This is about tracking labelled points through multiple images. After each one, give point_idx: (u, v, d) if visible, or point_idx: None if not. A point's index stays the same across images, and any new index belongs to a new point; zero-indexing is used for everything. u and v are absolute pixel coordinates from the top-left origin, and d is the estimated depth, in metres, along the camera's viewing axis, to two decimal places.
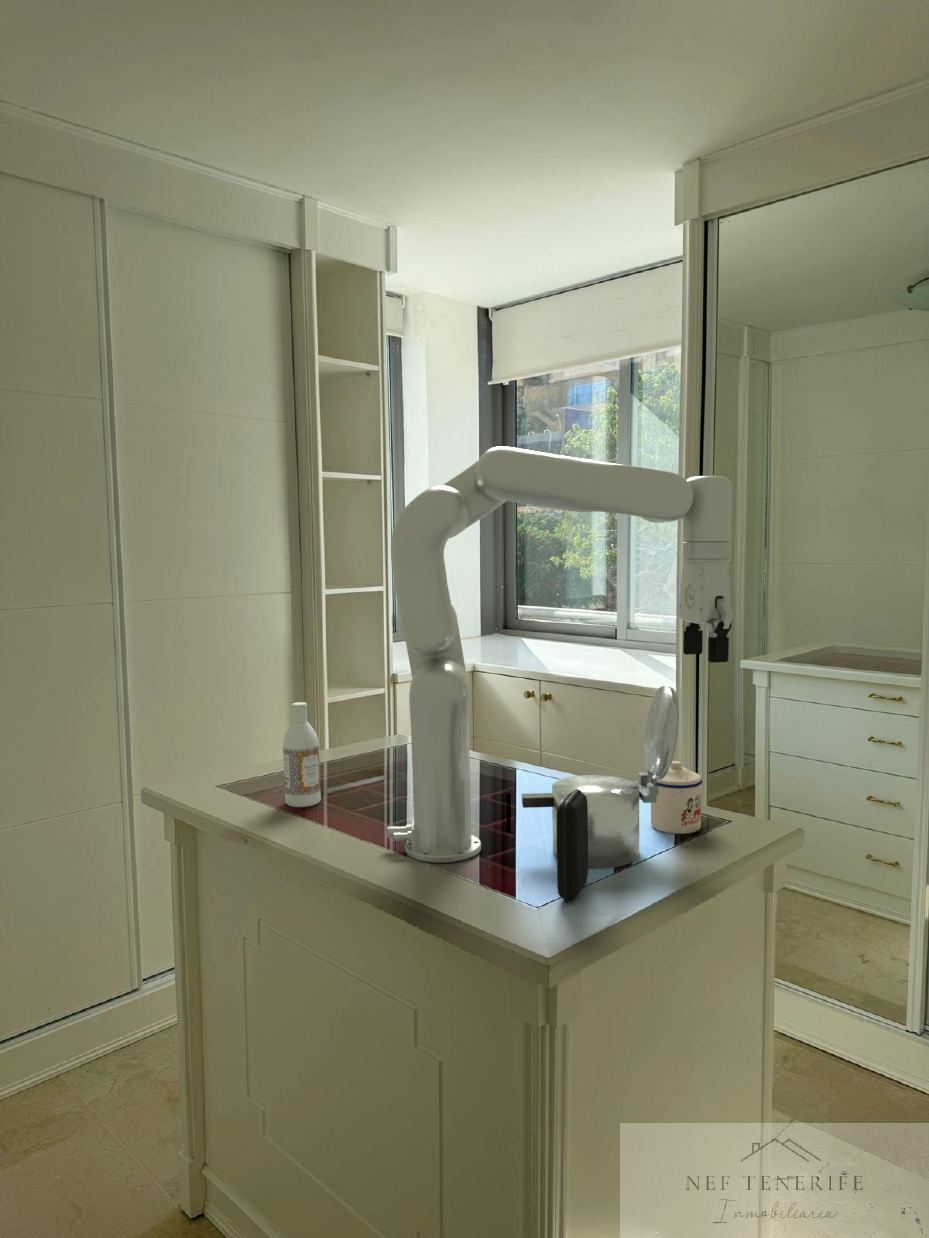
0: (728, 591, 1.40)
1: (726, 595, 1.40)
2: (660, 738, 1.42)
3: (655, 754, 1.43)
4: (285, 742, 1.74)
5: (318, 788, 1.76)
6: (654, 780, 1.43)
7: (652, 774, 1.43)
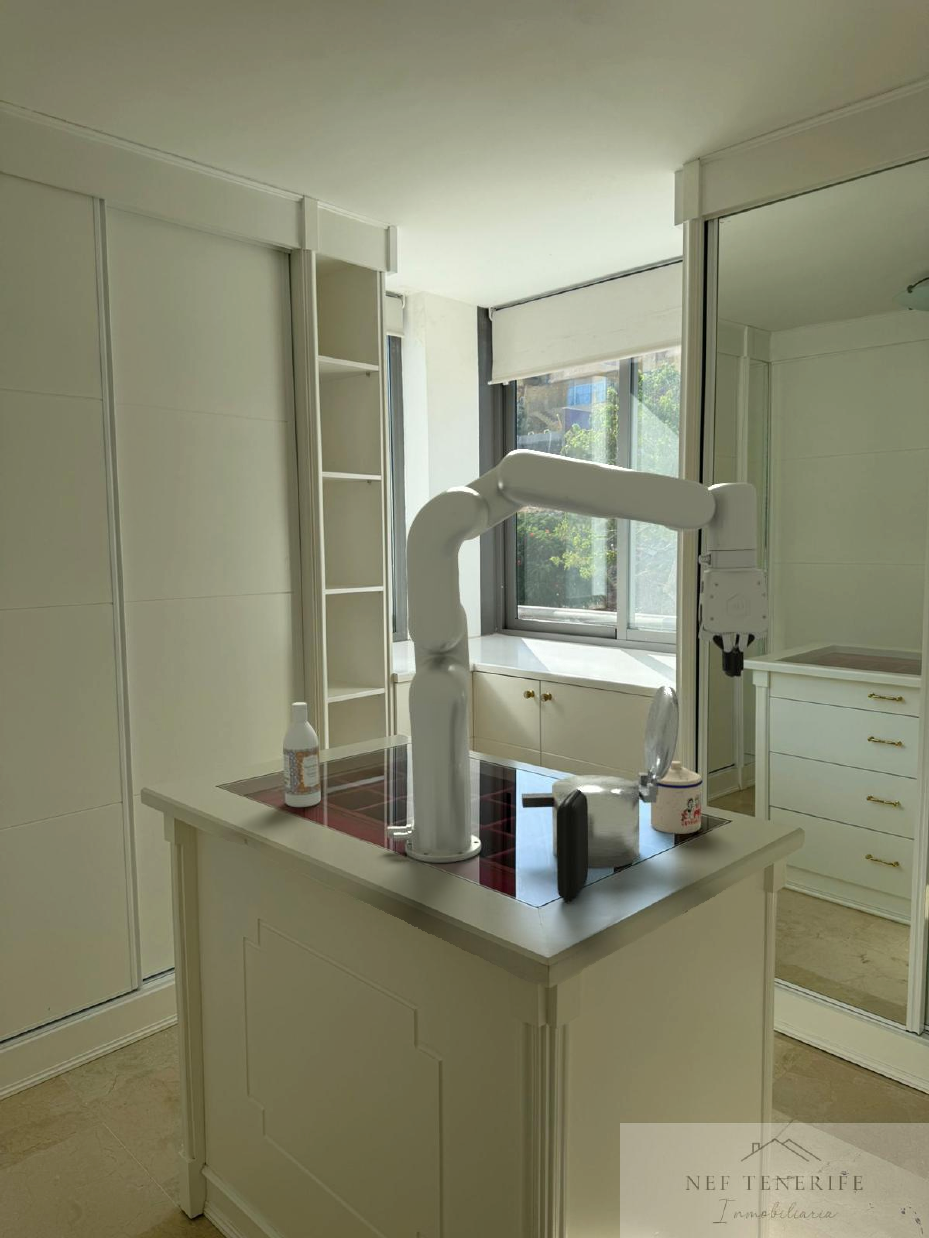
0: None
1: None
2: (660, 738, 1.42)
3: (655, 754, 1.43)
4: (285, 742, 1.74)
5: (318, 788, 1.76)
6: (654, 780, 1.43)
7: (652, 774, 1.43)
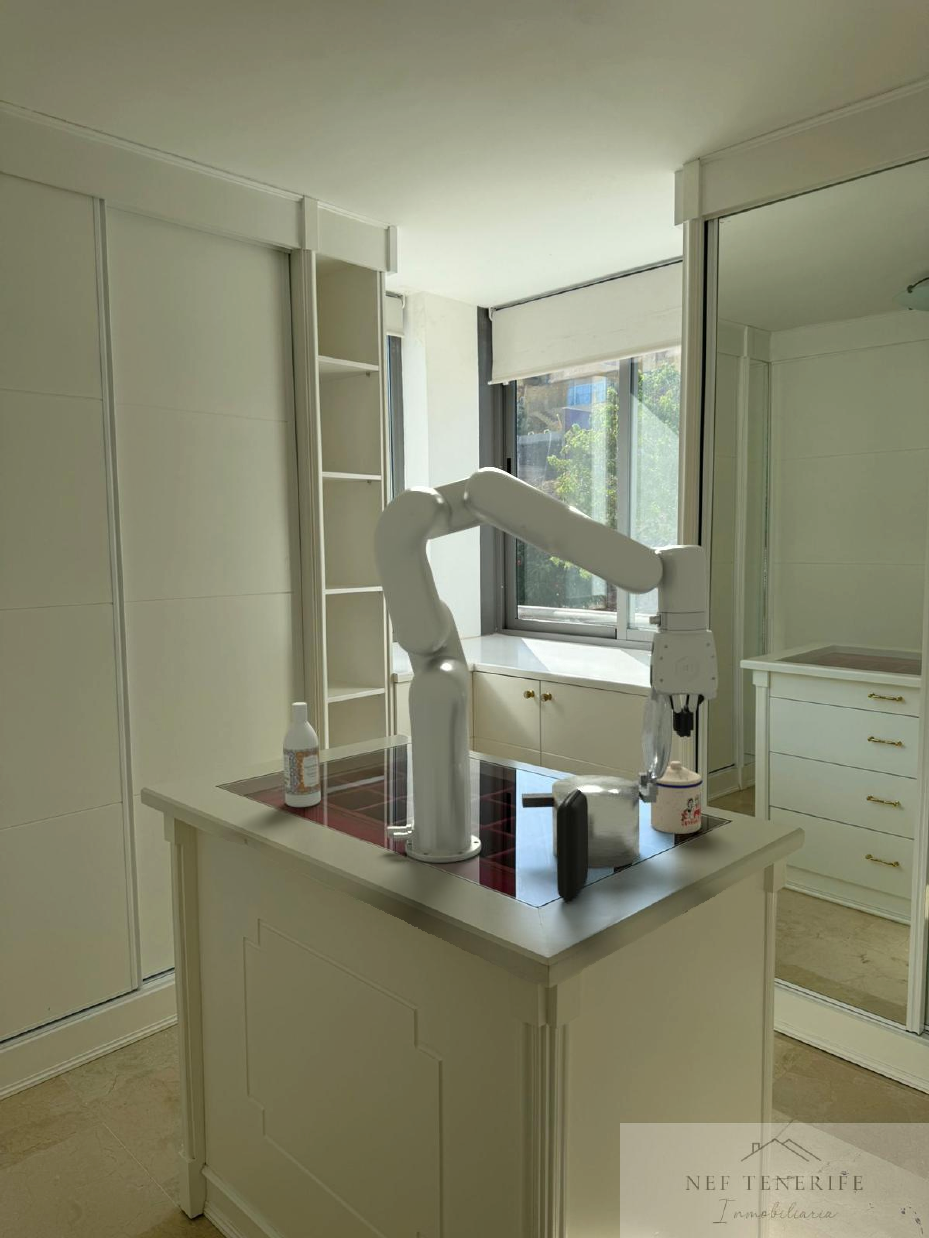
0: None
1: None
2: (656, 738, 1.41)
3: (652, 754, 1.43)
4: (285, 742, 1.74)
5: (318, 788, 1.76)
6: (654, 780, 1.43)
7: (651, 774, 1.43)
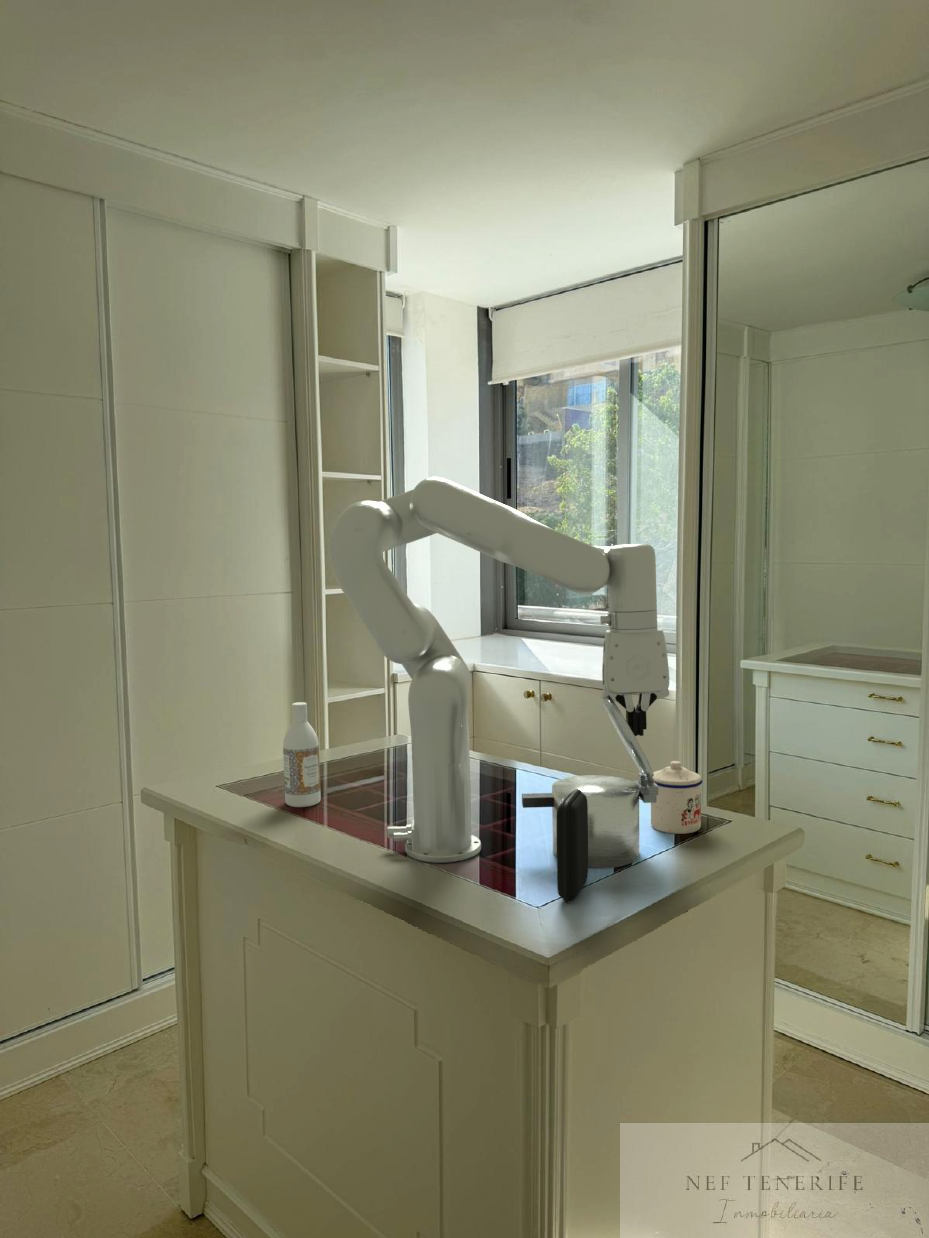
0: None
1: None
2: (628, 744, 1.42)
3: (635, 758, 1.43)
4: (285, 742, 1.74)
5: (318, 788, 1.76)
6: (650, 779, 1.43)
7: (644, 775, 1.43)
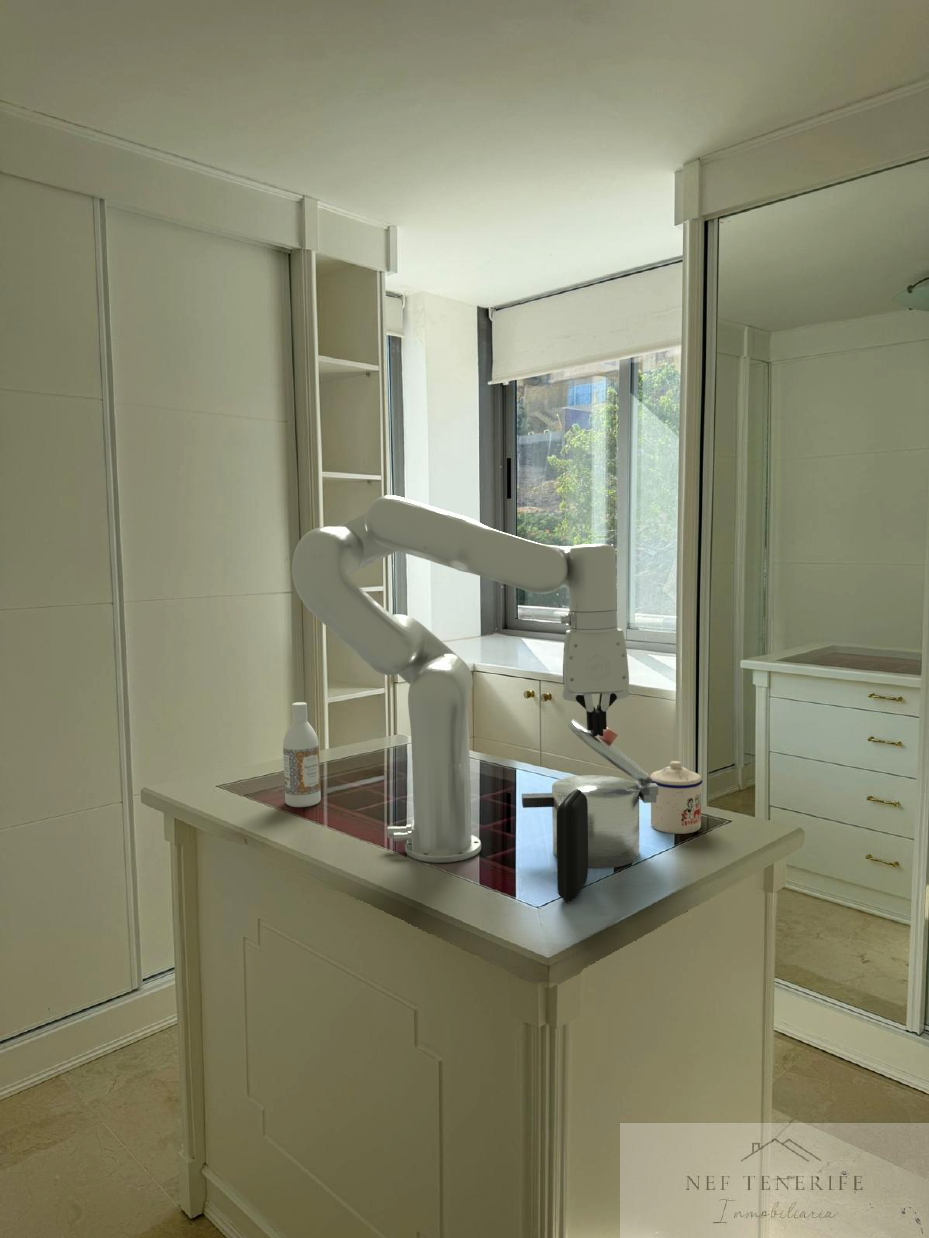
0: None
1: None
2: None
3: None
4: (285, 742, 1.74)
5: (318, 788, 1.76)
6: (647, 779, 1.43)
7: None
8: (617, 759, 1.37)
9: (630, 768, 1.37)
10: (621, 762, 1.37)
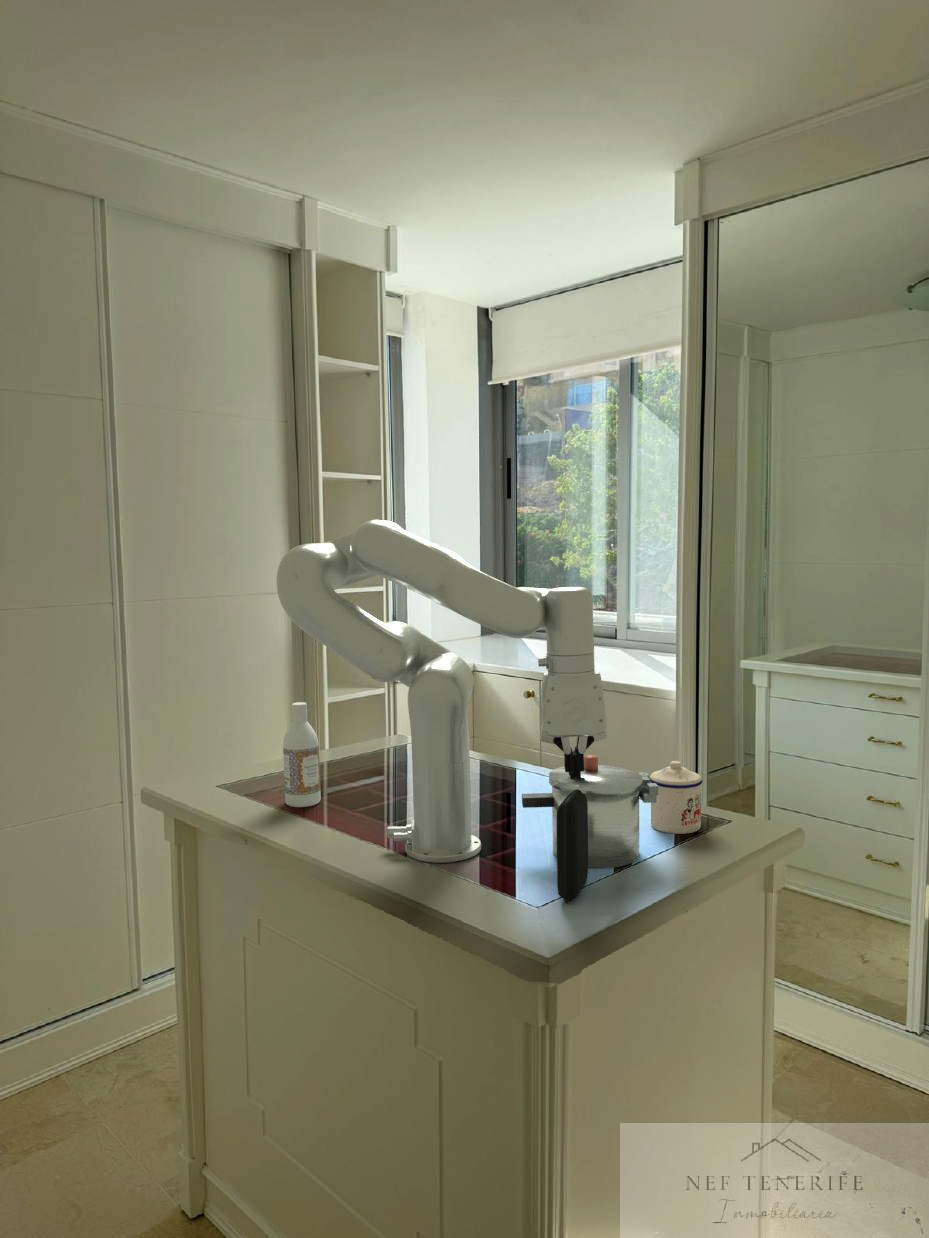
0: None
1: None
2: None
3: None
4: (285, 742, 1.74)
5: (318, 788, 1.76)
6: (644, 782, 1.43)
7: None
8: (602, 790, 1.37)
9: (618, 789, 1.38)
10: (607, 790, 1.37)
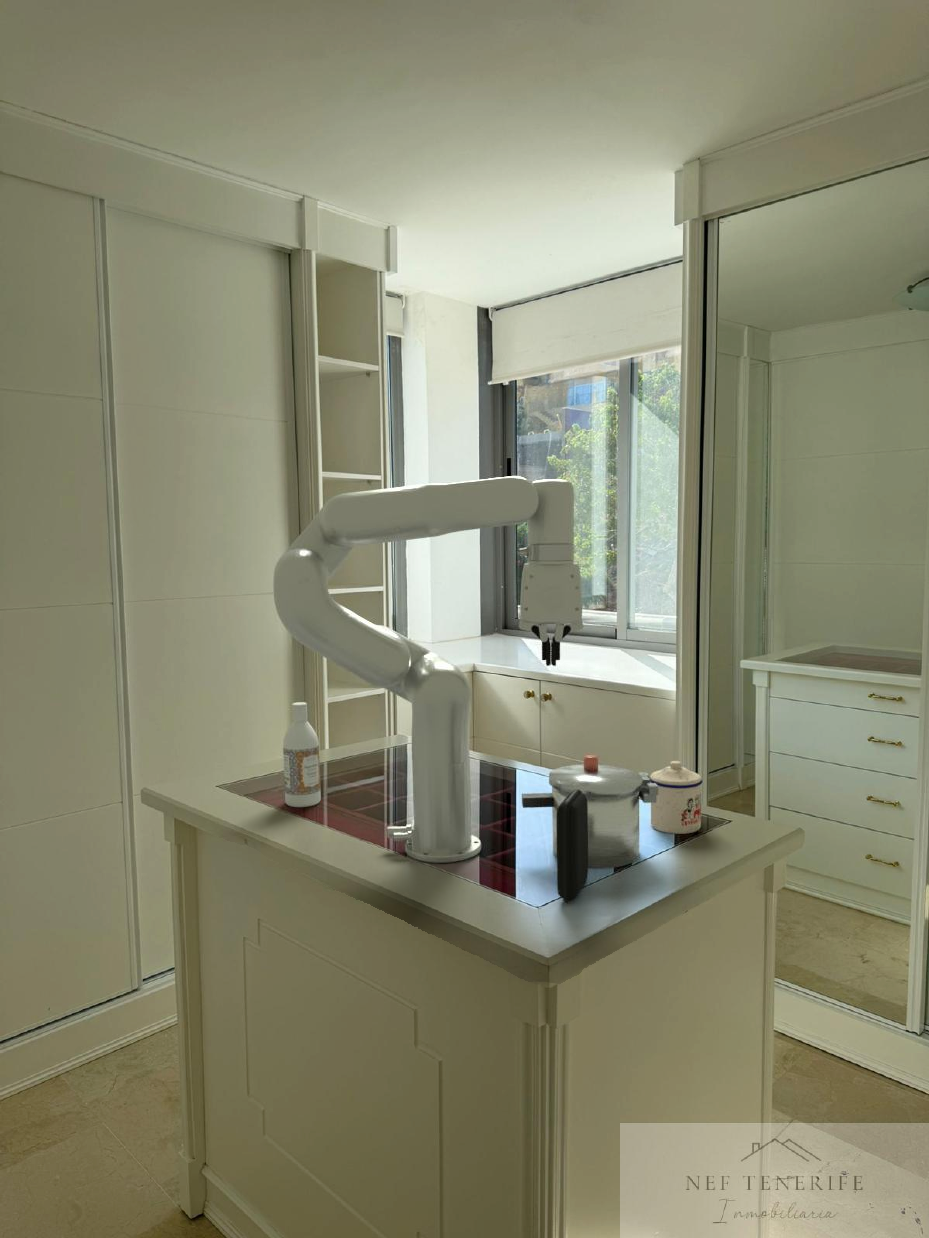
0: None
1: None
2: None
3: None
4: (285, 742, 1.74)
5: (318, 788, 1.76)
6: (644, 782, 1.43)
7: None
8: (602, 790, 1.37)
9: (618, 789, 1.38)
10: (607, 790, 1.37)
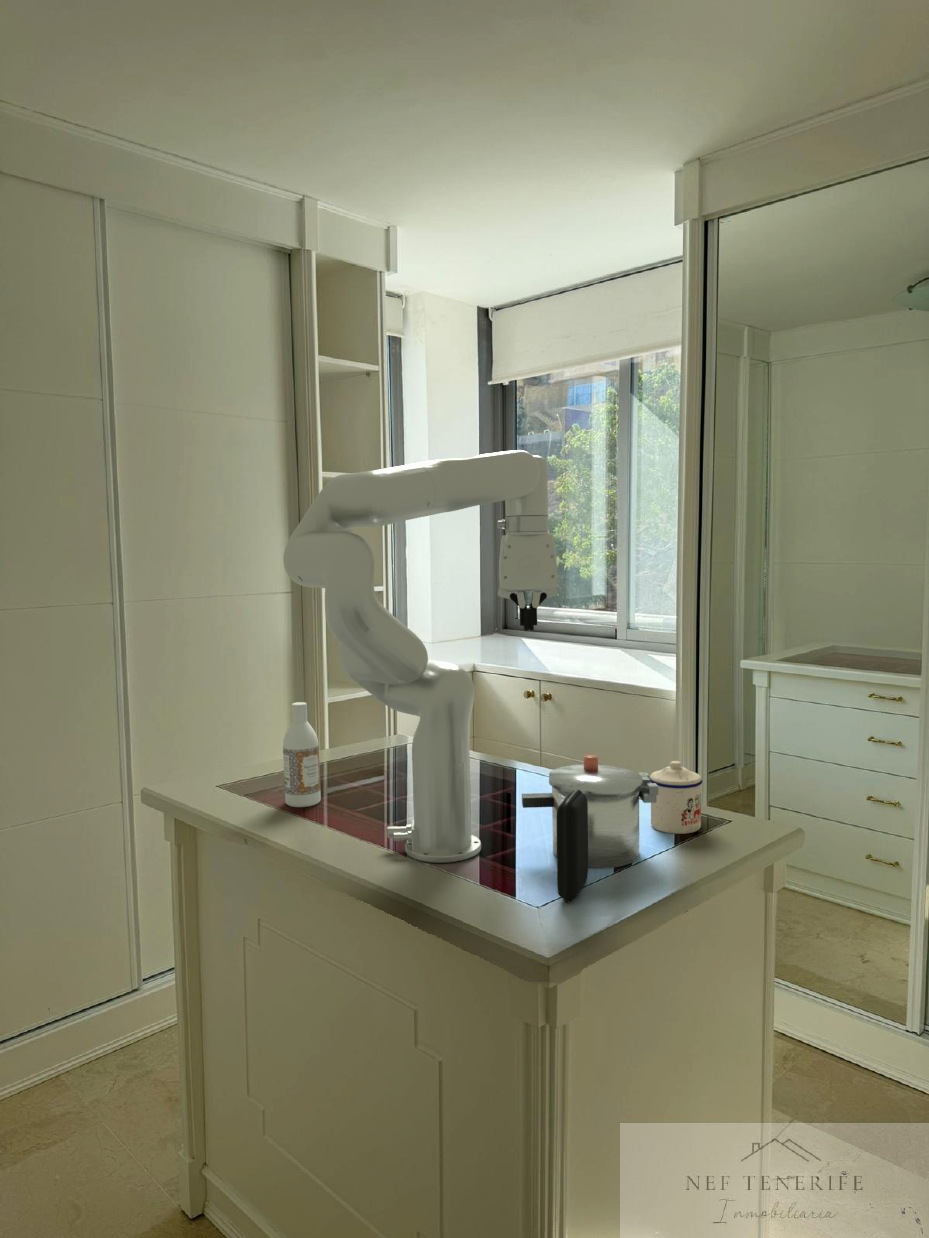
0: None
1: None
2: None
3: None
4: (285, 742, 1.74)
5: (318, 788, 1.76)
6: (644, 782, 1.43)
7: None
8: (602, 790, 1.37)
9: (618, 789, 1.38)
10: (607, 790, 1.37)
